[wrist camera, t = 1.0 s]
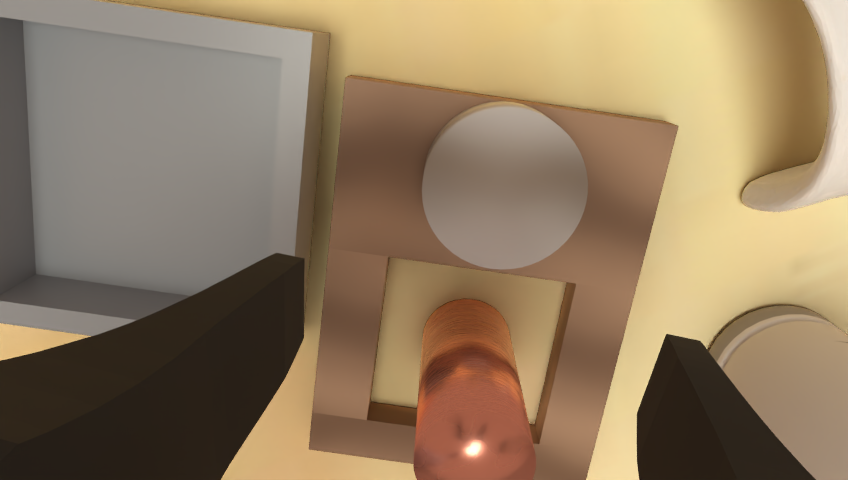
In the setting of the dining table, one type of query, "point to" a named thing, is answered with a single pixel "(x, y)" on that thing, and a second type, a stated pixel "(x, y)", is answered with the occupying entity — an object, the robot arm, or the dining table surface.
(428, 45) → the dining table surface
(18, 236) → the tray
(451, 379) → the reddish brown cylinder
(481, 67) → the dining table surface
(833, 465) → the travel mug
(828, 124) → the spoon rest
